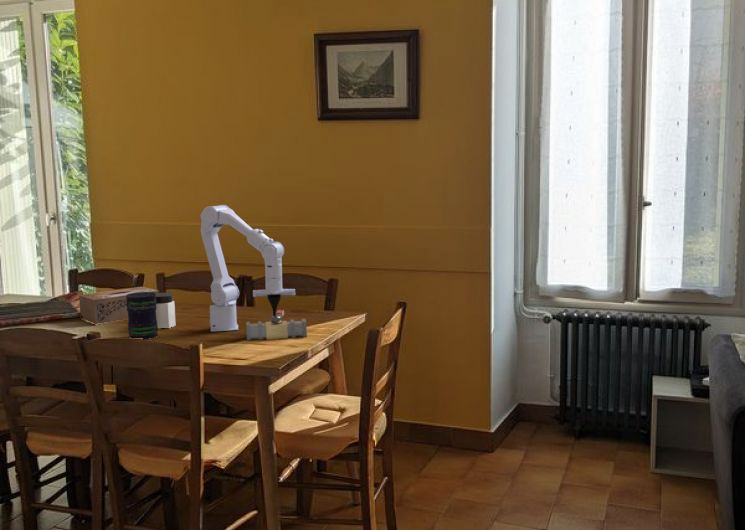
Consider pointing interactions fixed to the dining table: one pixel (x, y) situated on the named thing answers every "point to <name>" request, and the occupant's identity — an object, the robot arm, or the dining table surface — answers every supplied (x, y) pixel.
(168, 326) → the jar
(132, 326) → the storage jar
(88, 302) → the tissue box cover
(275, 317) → the lever
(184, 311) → the dining table surface
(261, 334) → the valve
